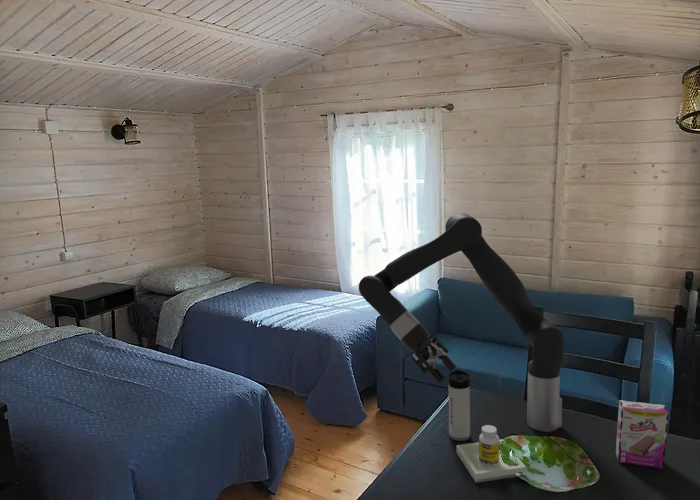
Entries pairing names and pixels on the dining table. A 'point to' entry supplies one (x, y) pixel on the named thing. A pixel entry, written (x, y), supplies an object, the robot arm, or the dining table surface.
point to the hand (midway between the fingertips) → (448, 374)
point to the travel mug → (459, 405)
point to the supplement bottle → (489, 446)
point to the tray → (483, 472)
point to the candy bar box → (641, 434)
